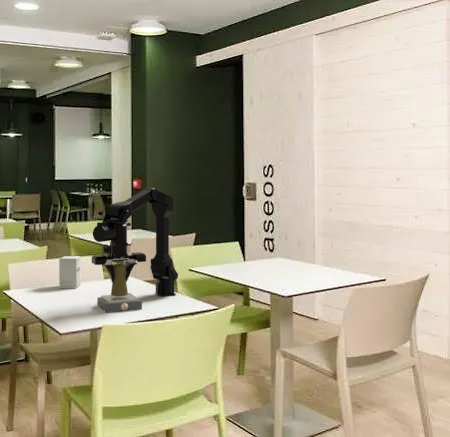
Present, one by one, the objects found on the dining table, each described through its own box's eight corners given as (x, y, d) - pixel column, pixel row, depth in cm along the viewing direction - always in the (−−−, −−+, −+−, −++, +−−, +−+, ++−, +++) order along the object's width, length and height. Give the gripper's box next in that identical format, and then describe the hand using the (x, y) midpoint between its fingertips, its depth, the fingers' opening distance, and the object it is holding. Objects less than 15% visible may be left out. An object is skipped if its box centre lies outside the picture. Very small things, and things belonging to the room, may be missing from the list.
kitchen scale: (131, 302, 232) (131, 292, 231) (142, 309, 220) (142, 298, 220) (97, 305, 226) (97, 295, 225) (106, 313, 215) (106, 302, 214)
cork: (124, 296, 219) (124, 266, 218) (108, 295, 221) (108, 265, 220) (130, 293, 225) (130, 263, 224) (114, 292, 227) (114, 262, 226)
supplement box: (76, 288, 256) (76, 258, 255) (59, 288, 256) (58, 258, 255) (81, 285, 264) (80, 256, 263) (63, 285, 264) (63, 255, 263)
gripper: (136, 235, 232) (137, 276, 234) (87, 238, 224) (88, 280, 226) (146, 238, 223) (146, 281, 224) (95, 241, 214) (95, 285, 216)
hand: (119, 282), depth 223 cm, fingers closed on cork, 4 cm apart
